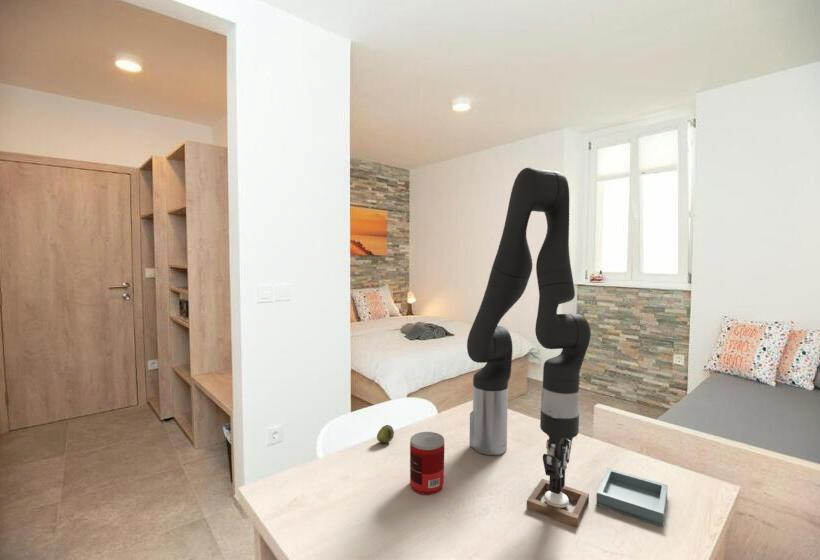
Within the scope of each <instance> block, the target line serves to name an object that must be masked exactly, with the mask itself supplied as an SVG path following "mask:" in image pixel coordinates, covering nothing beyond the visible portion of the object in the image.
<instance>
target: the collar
mask: <svg viewBox="0 0 820 560" xmlns="http://www.w3.org/2000/svg"><path fill="white" fill-rule="evenodd" d="M549 483H550V480H548V479H544V478H541V479H540V481H539V482H538V483H537V485H536V487H535V488H534V489H533V491H532V492H531V494H530V495H529V497H528V498H527V499H526V509H527V510H530V511H533V512H535V513H537V514H540V515H543V516H546V517H548V518H550V519H553V520H557V521H558V522H560V523H561V522H562V523H564V524H567V525H570V526H572V527H575V528H578V527H579V525H580V522H581V521H582V517H583V515H584V513H585V511H586V509H587V507H588V505H589V502H590V497H589V496H590V493H587V492H585V491H582V490H579V489H576V488H573V487H569V486H566V485H565V486H564V487H563V488H561V492H562V493H564V494H565V495H566V496H567V497H568V499H569V500H572V501H575V502H577V503H576V505H575V507H574V509H573V511H572V512H571V511H568V510H565V509H563V508H559V507H555V506H552V505H550V504H548V503H547V502H543V501H541V499H542V497H544V496H543V495H545V493H546V492H547V491H550V490H549Z"/></svg>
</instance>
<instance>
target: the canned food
mask: <svg viewBox="0 0 820 560" xmlns="http://www.w3.org/2000/svg"><path fill="white" fill-rule="evenodd" d="M409 443H410V444H409V477H410V478H409V482H410V486H411V489H412V490H413V491H414V492H416V493H418V494H420V495H425V496H426V495H427V496H428V495H434V494H437V493H438V492H441V491H442V489H443V487H444V483H445V438H444V436H443V435H442V434H441V433H438V432H435V431H422V432H417V433H415V434H413V435H411V436H410V441H409Z"/></svg>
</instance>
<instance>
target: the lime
mask: <svg viewBox="0 0 820 560" xmlns="http://www.w3.org/2000/svg"><path fill="white" fill-rule="evenodd" d="M394 437H395V431H394V427H392V426H391V425H389V424H385V425H383V426H382V427H381V428H380V429H379V430H378V432H377V435H376V440H377V441H378V442H379V443H382V444H387V443H389V442H391V441H392V440H393V438H394Z"/></svg>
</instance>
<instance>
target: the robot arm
mask: <svg viewBox="0 0 820 560" xmlns="http://www.w3.org/2000/svg"><path fill="white" fill-rule="evenodd" d="M532 212H538V213H544V215H545V220H546V224H547V227H546V228H547V229H546V234H545V238H544V241H543V243H542V245H541V247H540V249H539V252H538V255H537V257H536V258H537V259H536V264H535V268H536V269H535V271H536V279H537V287H538V294H539V296H538V297H539V298H538V307H537V315H536V320H535V328H534V330H535V337H536V339H537V342H538V343H539V345H540V346H541V347H543V348H544V349H546V350H561V352H560V353H559V355H556V356H555V357H551V358H548V359H547V360H545V361H544V363H543V369H542V370H543V371H542V372H543V373H542V389H541V390H542V391H541V398H540V418H539V419H540V420H539V421H540V423H539V427H540V430H541V431H542V432H543V433H544V434H545V435H547V436H548V439H547V440H546V444H545V448H546V453H543V455H542V462H543V468H544V472H545V475H546V476H547V477H548V476H549V481H550V483H549V490H550V491H551V492H553V493H556V494H560V492H561V488H563V487H564V486H566V483H565V482H566V470H567V469H568V464H569V463H570V456H571V449H572V445H573V444H572V443H573V439H574V438H576V437H577V436H578V434H579V432H580V430H579V426H580V407H581V406H580V403H581V402H580V371H581V369H582V366H583V363H584V359H585V357H586V354H587V350H588V347H589V346H590V345H589V344H590V340H591V327H590V324H589V322H588V320H587V318H585V316H583V315H581V314H579V313H558V309H559V305H562V304H565V303H568V302H571V301H573V299H574V298H575V295H576V292H575V284H574V278H573V271H572V267H571V258H570V188H569V182H568V179H567V177H566V176H565V175H564V174H563V173H562V172H559V171H557V170H556V171H555V170H549V169H544V168H536V167H524V168H523V169H522V170H520V171H519V172H518V173H517V176H516V177H515V179H514V182H513V186H512V188H511V192H510V197H509V202H508V206H507V212H506V217H505V221H504V227H503V230H502V234H501V238H500V241H499V245H498V249H497V252H496V255H495V257H494V261H493V262H492V263H493V264H492V267H491V271H490V273H489V278H488V281H487V284H486V285H487V286H486V288H485V291H484V295H483V297H482V300H481V303H480V305H479V308H478V310H477V311H478V312H477V314H476V316H475V319H474V320H473V324H472V325H471V328H470V330H469V333H468V336H467V341H466V349H467V354H468V357H469V358H470V360H471V361H472V362H475V363H477V364H478V363H479V364H482V363H483V364H484V363H485V365H484V366H483V367H482V368H481V369H479V370H478V371H475V373H474V375H473V379H472V411H471V412H470V413H469V448H472V449H474V450H475V451H476V452H477V453H479V454H482V455H487V456H499V455H503V454H505V453H506V452H507V450H508V449H507V448H508V404H509V403H508V401H509V400H508V399H509V398H508V395H509V392H508V391H509V390H508V389H509V381H510V378H511V373H512V361H513V341H512V336H511V334H510V332H509V330H508V329H507V328H506V327H504V326H501V325H499V323H500V321H501V320H502V318H503V317H504V316H505V315H506V314H507V312H509V310H510V309H512V308H513V307H514V305H515V304H516V303H517V302H518V301H519V300H520V298H522V296H523V295H524V292H525V290H526V288H527V286H528V283H529V279H530V277H531V275H532V272H533V258H532V254H531V250H530V247H529V243H528V239H527V230H528V225H529V219H530V216H531V215H532ZM557 313H558V314H557ZM562 475H563V477H562Z"/></svg>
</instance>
